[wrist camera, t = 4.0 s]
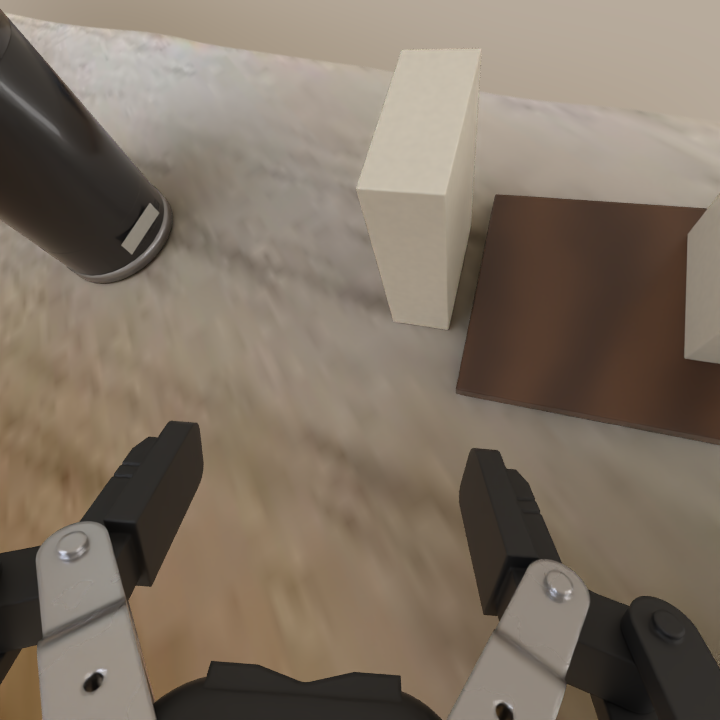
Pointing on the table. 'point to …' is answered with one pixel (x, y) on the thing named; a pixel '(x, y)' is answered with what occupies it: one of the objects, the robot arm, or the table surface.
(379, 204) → the upright ivory block
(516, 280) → the dark wood bookend
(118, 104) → the table surface
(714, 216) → the cream rectangular block
